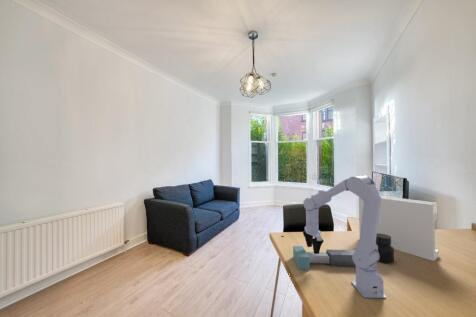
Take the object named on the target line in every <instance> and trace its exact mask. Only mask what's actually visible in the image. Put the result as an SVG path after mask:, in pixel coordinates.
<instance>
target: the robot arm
mask: <svg viewBox="0 0 476 317" xmlns="http://www.w3.org/2000/svg"><path fill="white" fill-rule="evenodd" d="M347 191H348V192H351V193H353V195H355V196H357V197H358V198H359V197H360V198H361V199H362V200H363V201H364V206H363V215H362V223H361V231H360V232H359V240H358V242H357V244H356V246H355V249H354V250H355V251H354V253H353V254H352V259H353V262H354V263H355V267H354V268H355V280H351V284H352V285H353V286H354V287H355V289H356V290H357V291H358V292H359V293H360V294H361V296H362V297H363V298H369V299H374V298H375V299H387V296H386V295H385V294H384V279H383V278H382V276H381V275H380V274H379V271H378V265H377V262H379V261H378V260H379V258H380V256H379V253H378V246H377V245H376V235H377V228H378V220H379V212H380V204H381V197H380V196H381V195H380V193H379V191H378V188H377V187H376V182H375V181H374V180H373V179H372V178H371V177H370V176H368V175H360V176H350V177H349V178H346V179H344V180H342V181H340V182H339V183H336V185H334V186H333V187H331V188H330V189H328V190H325V189H323V190H322V189H321V190H320V189H319V190H318V191H317V193H315V194H312V195H311V197H306V198H305V199H304V200H303V202H302V204H303V207H304V209H305V221H306V222H305V226H304V231H303V232H302V234H303V237H304V238H305V243H306V246H307V248H312V250H313V252H314V254H319V252H321V251H320V250H321V248H322V245H323V243H324V239H323V238H322V235H321V233H322V231H321V230H319V212H320V211H319V210H320V208H321V207H322V206H324V205H325V204H328V203H330V202H331V201H332V198H333V197H335V196H337V195H338V194H341V193H343V192H347Z"/></svg>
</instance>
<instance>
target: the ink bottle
mask: <svg viewBox="0 0 476 317" xmlns="http://www.w3.org/2000/svg"><path fill="white" fill-rule="evenodd" d="M376 245H377V246H378V253H379V256H380V258H379V260H378V261H377V262H380V263H382V264H393V263H394V264H395V249H394V248H393V247H392V246H391V237H390V236H388V235H385V234H377V235H376Z"/></svg>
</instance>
